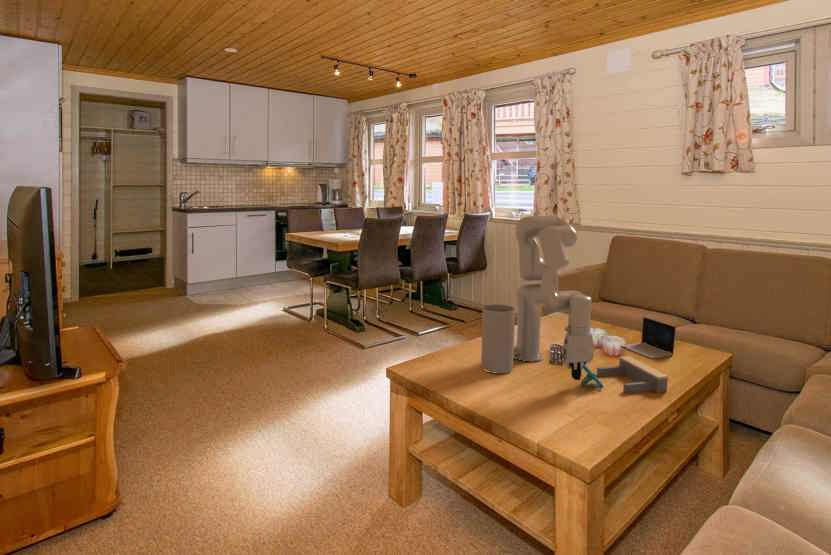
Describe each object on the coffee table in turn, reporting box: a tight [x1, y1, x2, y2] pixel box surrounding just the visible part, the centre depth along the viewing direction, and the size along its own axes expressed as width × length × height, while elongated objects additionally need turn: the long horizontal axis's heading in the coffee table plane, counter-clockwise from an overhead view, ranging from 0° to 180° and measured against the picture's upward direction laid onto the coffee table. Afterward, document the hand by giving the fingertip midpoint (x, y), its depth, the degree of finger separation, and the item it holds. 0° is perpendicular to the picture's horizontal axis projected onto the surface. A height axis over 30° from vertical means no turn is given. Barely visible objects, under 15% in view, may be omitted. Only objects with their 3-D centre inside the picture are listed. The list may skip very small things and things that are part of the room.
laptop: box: [625, 316, 677, 359], centre depth 224 cm, size 18×12×13 cm
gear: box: [581, 364, 604, 389], centre depth 186 cm, size 11×6×10 cm
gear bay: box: [596, 355, 669, 394], centre depth 189 cm, size 15×22×6 cm
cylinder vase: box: [480, 303, 516, 374], centre depth 201 cm, size 12×12×25 cm
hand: (576, 378), depth 184 cm, fingers closed
